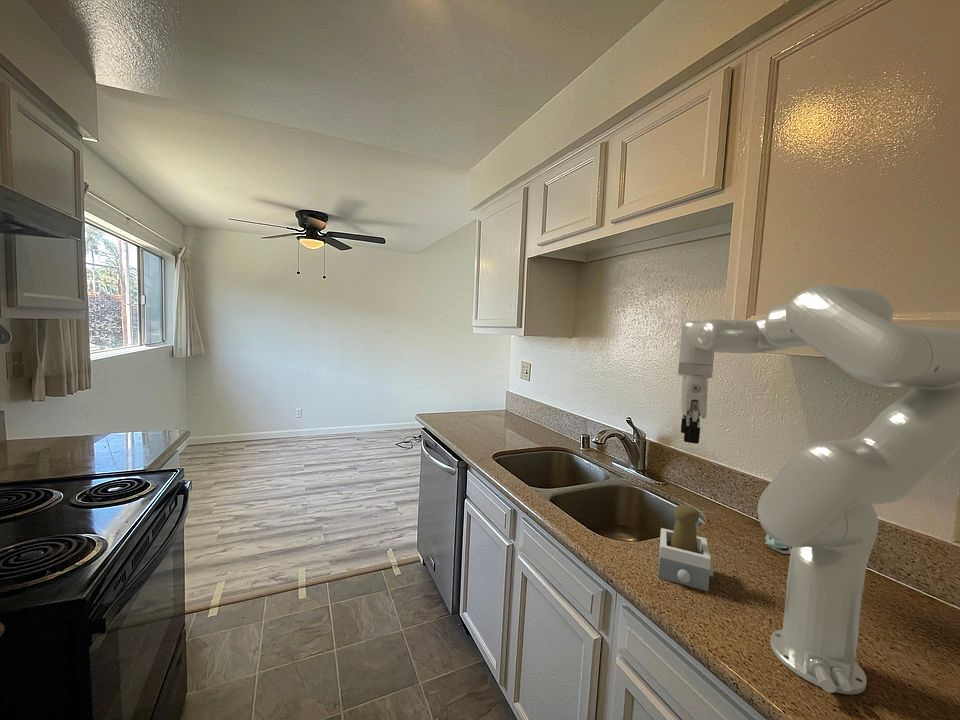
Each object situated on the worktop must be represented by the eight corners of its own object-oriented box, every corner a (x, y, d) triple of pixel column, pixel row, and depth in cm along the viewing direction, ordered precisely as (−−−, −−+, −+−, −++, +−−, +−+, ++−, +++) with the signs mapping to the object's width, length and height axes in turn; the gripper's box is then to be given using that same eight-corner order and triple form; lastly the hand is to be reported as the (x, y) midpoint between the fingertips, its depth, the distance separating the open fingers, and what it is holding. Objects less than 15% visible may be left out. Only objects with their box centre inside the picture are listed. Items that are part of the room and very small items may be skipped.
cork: (696, 562, 88) (699, 515, 87) (667, 553, 91) (670, 507, 90) (699, 551, 92) (703, 506, 92) (672, 542, 96) (675, 499, 95)
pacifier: (791, 547, 107) (764, 539, 110) (794, 525, 106) (767, 518, 110) (792, 559, 101) (764, 549, 104) (796, 536, 100) (767, 527, 104)
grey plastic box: (715, 596, 84) (717, 563, 83) (658, 580, 89) (660, 549, 88) (709, 569, 94) (711, 539, 94) (658, 556, 99) (661, 528, 98)
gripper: (718, 375, 87) (711, 449, 88) (707, 369, 103) (701, 432, 104) (680, 372, 90) (674, 444, 91) (676, 367, 106) (671, 428, 107)
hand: (689, 437), depth 98 cm, fingers open, 9 cm apart
